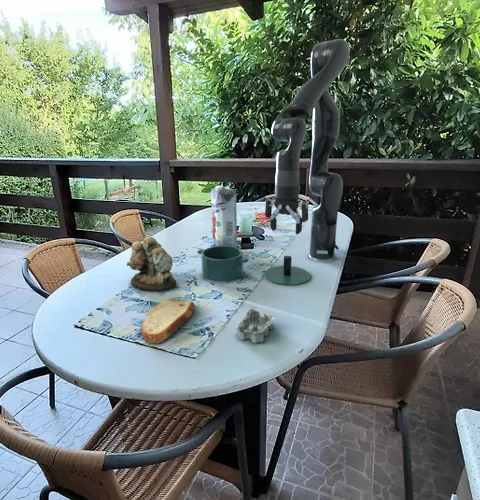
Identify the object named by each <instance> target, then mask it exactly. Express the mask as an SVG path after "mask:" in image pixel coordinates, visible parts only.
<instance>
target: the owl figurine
mask: <svg viewBox="0 0 480 500" xmlns="http://www.w3.org/2000/svg"><path fill="white" fill-rule="evenodd" d="M131 250H132V251H131V253H130V258H129V261H127V262H126V266H127V267H129V268H130V269H131V270H134V271H139V272H137V273H135V274H134V275H133V276H132V278H131V279H130V285H131V286H132V287H133V288H135V289H138V290H140V291H143V292H151V293H152V292H157V293H158V292H165V291H167V290H168V291H169V290H172V289H174V288H175V287H176V286H177V280H176V279H175V278H174V277H173V276H174V274H173V272H172V271H171V270H172V267H173V257H172V256H171V255H170V254H169V253H168V252H167V251H166V250H165V249H164V248H163V247H162V244H161V243H159V242H158V241H157V239H156V238H154V237H153V236H149V235H148V236H146V237H144V238H143V240H142V242H141V241H135V242H133V243H132V244H131Z"/></svg>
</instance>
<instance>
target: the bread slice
mask: <svg viewBox="0 0 480 500" xmlns="http://www.w3.org/2000/svg"><path fill="white" fill-rule="evenodd" d="M195 308H196V304H195V303H194V302H193V301H192V300H181V299H175V298H168V299H164V300H163V301H161V302H160V303H158V304H156V305H155V306H153V308H151V309H150V310H149V311H148V313H147V314H146V315H145V320H144V321H143V322H142V324H141V335H142V337H143V339H144V340H145V341H147V342H148V343H150V344H154V345H155V344H156V345H157V344H161V343H163V342H165V341H166V340H167V339H168V338H170V337H172V336H173V334H175V333H176V332H177V330H179V328H180V327H181V326H183V324H185V323H186V321H187V320H188V319H189V318H191V316H192V314H193V313H194V310H195Z"/></svg>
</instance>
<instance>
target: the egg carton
mask: <svg viewBox="0 0 480 500" xmlns="http://www.w3.org/2000/svg"><path fill="white" fill-rule="evenodd" d="M274 320H275V316H272V315H267V314H266V313H264V314H263V315H261V314H260V311H258V310H255V309H254V307H251V308H250V309H249V310H248V311H247V313H246V315H245V316H244V317H243V318H242V320H240V322H239V323H238V326H237V328H236V329H235V331H237V333H238V334H237V336H238V337H239V339H240V340H242V341H245V340H250V341H251V342H252V343H254V344H257V343H263V342H264V336H268V335H269V330H272V329H273V327H274V326H273V325H274V324H273V323H274Z"/></svg>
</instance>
